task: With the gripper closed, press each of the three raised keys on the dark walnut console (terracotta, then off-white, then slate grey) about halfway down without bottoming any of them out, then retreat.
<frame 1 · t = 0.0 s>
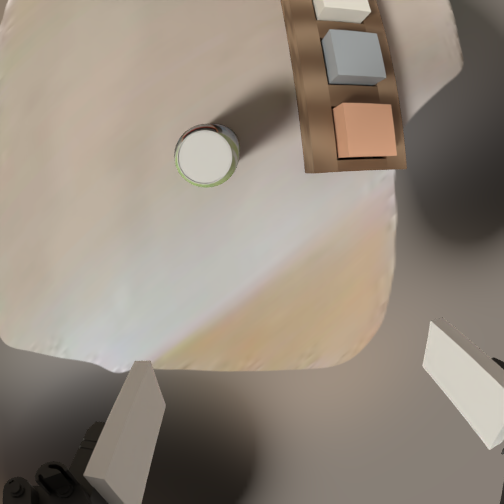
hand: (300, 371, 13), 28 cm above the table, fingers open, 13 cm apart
beverage can: (215, 154, 37), on the table
slate key: (352, 58, 29), point 6 cm above the table, slide at 0.0 cm
console: (337, 72, 35), on the table
terracotta key: (364, 131, 31), point 6 cm above the table, slide at 0.0 cm
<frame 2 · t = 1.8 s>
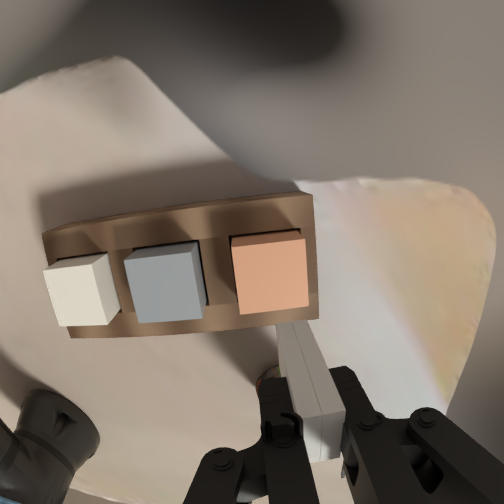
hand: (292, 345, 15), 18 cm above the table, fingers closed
offwhite key: (82, 289, 26), point 6 cm above the table, slide at 0.0 cm
slate key: (167, 281, 27), point 6 cm above the table, slide at 0.0 cm
console: (180, 261, 33), on the table
terracotta key: (269, 270, 27), point 6 cm above the table, slide at 0.0 cm
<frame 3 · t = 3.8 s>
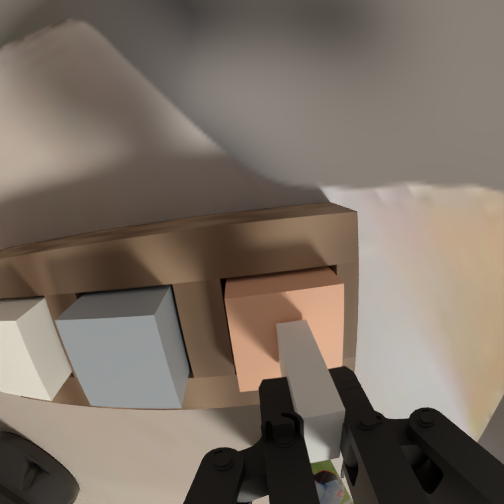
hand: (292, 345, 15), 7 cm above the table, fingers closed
offwhite key: (19, 346, 16), point 6 cm above the table, slide at 0.0 cm
beverage can: (295, 440, 27), on the table
slate key: (127, 348, 16), point 6 cm above the table, slide at 0.0 cm
console: (152, 304, 22), on the table
terracotta key: (283, 325, 17), point 5 cm above the table, slide at 1.1 cm, touching gripper
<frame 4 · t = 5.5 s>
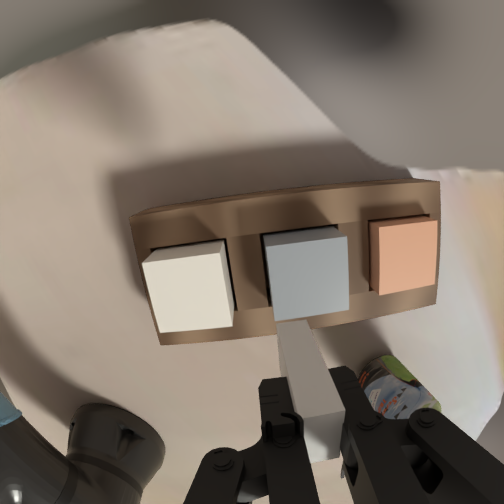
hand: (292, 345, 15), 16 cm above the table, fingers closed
offwhite key: (191, 285, 24), point 6 cm above the table, slide at 0.0 cm
beverage can: (380, 368, 34), on the table
slate key: (305, 271, 24), point 6 cm above the table, slide at 0.0 cm
console: (293, 250, 30), on the table
terracotta key: (399, 251, 25), point 5 cm above the table, slide at 1.5 cm
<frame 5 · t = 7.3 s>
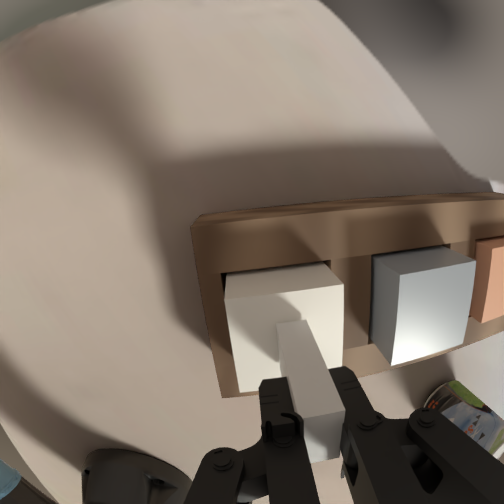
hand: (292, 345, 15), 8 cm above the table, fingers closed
offwhite key: (283, 326, 17), point 6 cm above the table, slide at 0.0 cm, touching gripper
beverage can: (441, 394, 28), on the table
slate key: (420, 301, 17), point 6 cm above the table, slide at 0.0 cm
console: (381, 271, 23), on the table
terracotta key: (494, 273, 19), point 5 cm above the table, slide at 1.5 cm
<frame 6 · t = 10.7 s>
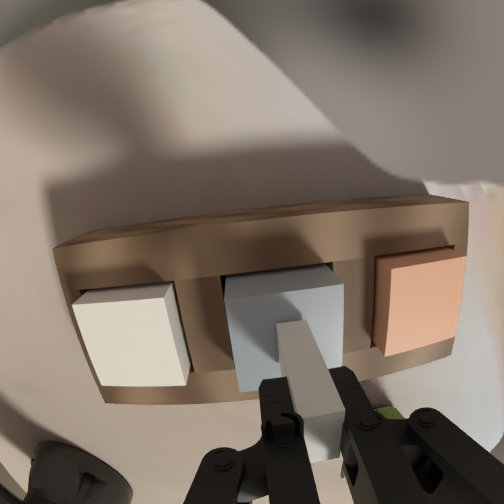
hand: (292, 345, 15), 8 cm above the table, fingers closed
offwhite key: (137, 331, 18), point 5 cm above the table, slide at 1.5 cm
slate key: (283, 325, 17), point 6 cm above the table, slide at 0.5 cm, touching gripper
console: (272, 289, 23), on the table
terracotta key: (413, 295, 18), point 5 cm above the table, slide at 1.5 cm
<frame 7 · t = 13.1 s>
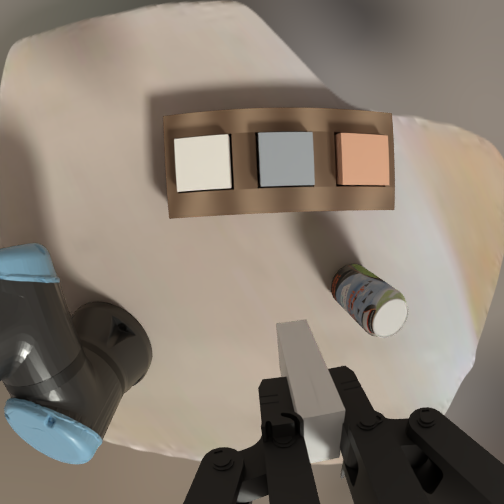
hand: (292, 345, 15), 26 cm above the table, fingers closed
offwhite key: (204, 163, 33), point 5 cm above the table, slide at 1.5 cm
beverage can: (352, 281, 43), on the table
slate key: (284, 159, 33), point 5 cm above the table, slide at 1.5 cm
console: (280, 160, 38), on the table
terracotta key: (360, 159, 33), point 5 cm above the table, slide at 1.5 cm
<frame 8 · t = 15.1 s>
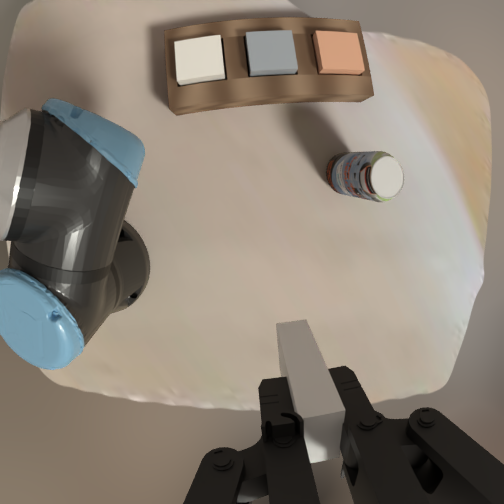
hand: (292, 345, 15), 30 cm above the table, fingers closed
offwhite key: (200, 62, 34), point 5 cm above the table, slide at 1.5 cm
beverage can: (346, 174, 43), on the table
slate key: (270, 55, 34), point 5 cm above the table, slide at 1.5 cm
console: (267, 66, 38), on the table
terracotta key: (336, 54, 34), point 5 cm above the table, slide at 1.5 cm
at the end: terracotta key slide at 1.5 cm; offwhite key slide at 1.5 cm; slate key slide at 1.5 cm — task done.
